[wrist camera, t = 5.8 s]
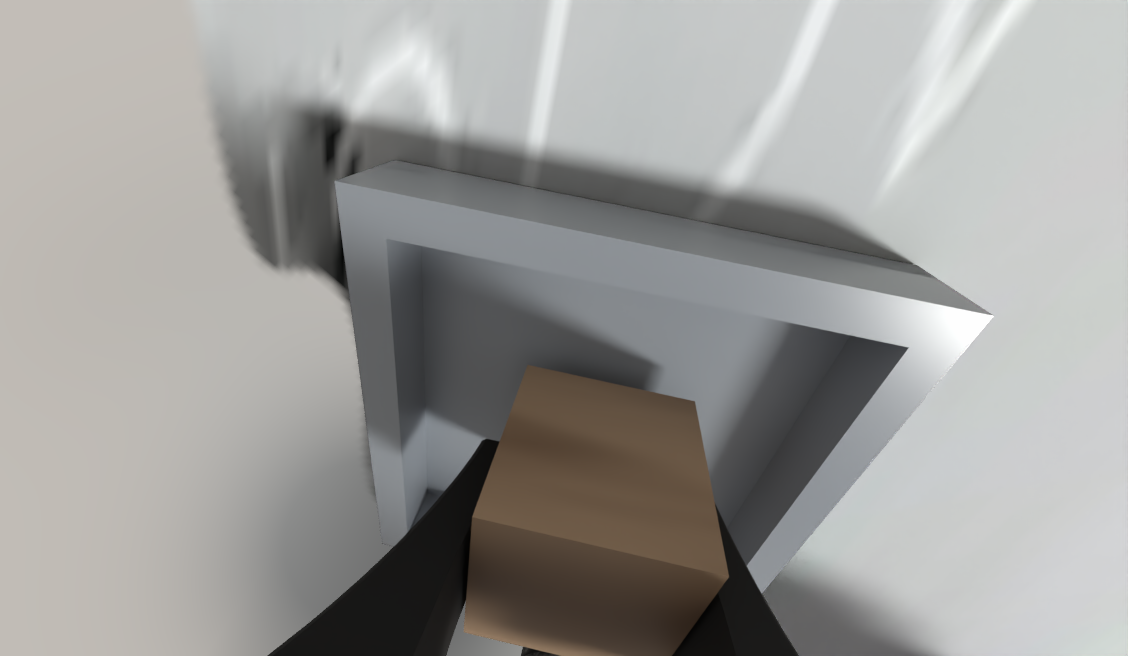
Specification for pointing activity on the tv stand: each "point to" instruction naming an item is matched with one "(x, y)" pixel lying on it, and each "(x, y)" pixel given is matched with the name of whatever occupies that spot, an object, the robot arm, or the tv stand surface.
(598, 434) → the block
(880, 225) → the tv stand surface
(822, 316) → the tray
